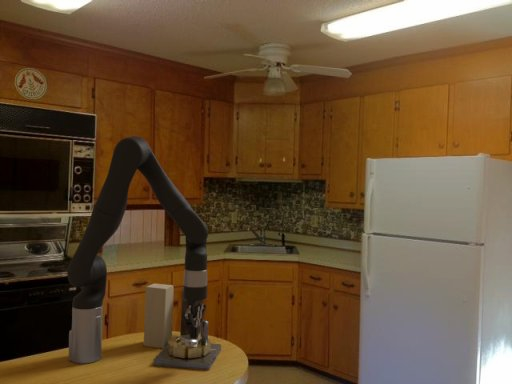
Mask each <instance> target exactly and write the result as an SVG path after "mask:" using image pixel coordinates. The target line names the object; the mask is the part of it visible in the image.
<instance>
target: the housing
mask: <svg viewBox="0 0 512 384" xmlns="http://www.w3.org/2000/svg"><path fill="white" fill-rule="evenodd" d="M198 341H199V339H198V338H197V339H191V338H190V336H188V337H183V338H181V339H180V342H185V346H194V345H198ZM167 348H168V345H167V346H166V347H165V348H162V349H161V351H160V352H159V353H158V354H157V355H156V356H155V357H154V358H153V366H157V367H170V368H179V369H180V368H181V369H190V370H191V369H192V370H206V371H210V369H211V367H212V366H213V364H214V362H215V361H216V359H217V358H218V356H219V354H220V352H221V351H222V344H221V343H212V342H211V350H210V352H209V353H208V354H206V355H205V356H202V355H201V357H196V358H188V357H186V358H180V357H175V356H173V355H170V354H169V352H168V351H167Z"/></svg>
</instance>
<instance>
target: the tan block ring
mask: <svg viewBox="0 0 512 384" xmlns="http://www.w3.org/2000/svg"><path fill="white" fill-rule="evenodd" d="M188 336H190V335H181V336H180V334H176V333H175V334H172V336H171V339H170V340H168V348H167V351H168V352H169V354H170V355H173V356H175V357H180V358H186V357H188V358H196V357H201V355H202V356H205V355H206V354H208V353H209V352H210V350H211V343H212V341H211V340H210V338H209V320H207V319H203V320H202V322H201V331H200V332H198V339H199V341H198V345H194V346H185V342H180V339H181V338H183V337H188Z"/></svg>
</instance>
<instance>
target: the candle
mask: <svg viewBox="0 0 512 384" xmlns="http://www.w3.org/2000/svg"><path fill="white" fill-rule="evenodd" d="M181 292H182V293H181V294H182V295H181V312H180V313H181V314H180V317H181V318H180V319H181V320H180V331H179V333H180V334H179V336H181V335H190V327H189V326H187V325H186V323H185V320H184V318H183V313H186V311H187V302H188V301H187V300H185V299H184V298H183V288H182V291H181ZM198 332H200V333H201V322H200V325H199V331H198Z"/></svg>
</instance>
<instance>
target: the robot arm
mask: <svg viewBox="0 0 512 384" xmlns="http://www.w3.org/2000/svg"><path fill="white" fill-rule="evenodd" d="M111 156H112V157H111V159H110V166H109V168H108V172H107V174H106V178H105V180H104V183H103V184H102V187H101V189H100V191H99V193H98V197H97V199H96V201H95V203H94V205H93V209H92V211H91V215H90V217H89V220H88V223H87V225H86V228H85V230H84V233H83V235H82V238H81V240H80V243H79V245H78V246H77V248H76V250H75V253H74V254H73V256H72V257H71V260H70V262H69V264H68V267H67V273H66V274H67V280H68V282H69V284H70V285H71V286H72V287H75V288H81V290H80V291H79V293H78V294H76V295H75V296H74V297H73V298H72V305H71V306H72V310H71V312H72V313H71V316H72V319H71V329H70V330H69V331H68V332H69V333H68V361H71V362H72V363H74V364H75V363H76V364H91V363H94V362H95V363H96V362H97V361H99V360H101V359H102V351H103V349H102V348H103V347H102V346H103V339H102V338H103V308H104V307H103V303H104V300H105V299H104V298H105V296H106V293H107V292H106V291H107V290H106V288H107V280H108V279H107V277H108V275H107V273H108V271H107V265H106V262H105V261H106V260H105V259H104V258H103V257H102V256H100V255H99V251H101V250H102V248H103V246H104V245H105V244H106V243H107V242H108V241H109V240H110V239H111V238H112V237H113V236H114V234H115V233H116V232H117V230H118V229H119V227H120V226H121V223H122V221H123V218H124V215H125V213H126V210H127V205H128V197H129V196H128V195H129V189H130V185H131V183H132V180H133V178H134V176H135V174H136V172H137V170H138V171H139V172H140V173H141V174H142V175H143V177H144V178H145V180H146V181H147V183H148V184H149V186H150V188H151V190H152V191H153V194H154V195H155V198H156V199H157V201H158V203H159V204H160V205H161V207H162V208H163V209H164V210H165V212H166V213H167V214H168V216H169V217H170V218H171V219H172V220H173V221H174V222H175V223H176V225H177V226H178V228H179V229H180V231H181V232H182V234H183V235H184V237H185V256H184V272H183V287H182V289H183V298H184V299H185V300H187V301H188V302H187V311H186V313H183V318H184V320H185V323H186V325H187V326H189V327H190V338H191V339H197V338H198V331H199V325H200V322H202V320H204V317H205V316H204V315H205V312H206V310H207V304H204V301H205V300H207V299H208V253H207V245H208V244H207V242H208V238H209V237H208V236H209V233H210V232H209V229H208V226H207V225H206V223H205V222H204V221H203V220H202V219H201V217H199V215H198V214H197V213H196V212H195V211H194V210H193V208H192V206H191V204H190V203H189V201H187V199H186V198H185V197H184V195H183V194H182V193H181V192H180V190H178V188H177V186H176V185H175V184H174V183H173V182H172V180H171V179H170V178H169V176H168V175H167V173H166V171H164V169H163V167H162V166H161V164H160V163H159V161H158V159H157V157H156V156H155V154H154V153H153V150H152V149H151V146H150V145H149V143H148V141H146V140H145V139H144V138H143V137H140V136H135V135H133V136H129V137H124V138H122V139H120V140H119V141H118V142H117V143H116V145H115V147H114V149H113V152H112V155H111Z"/></svg>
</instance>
